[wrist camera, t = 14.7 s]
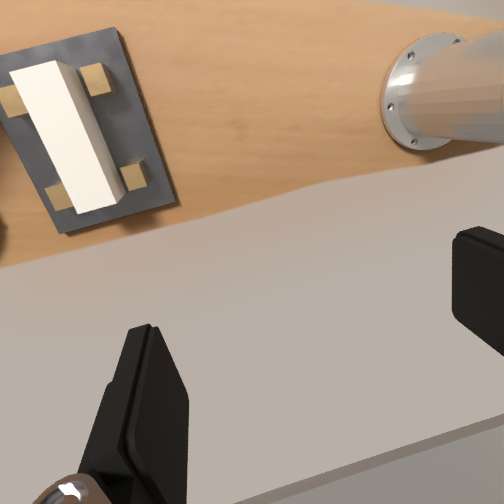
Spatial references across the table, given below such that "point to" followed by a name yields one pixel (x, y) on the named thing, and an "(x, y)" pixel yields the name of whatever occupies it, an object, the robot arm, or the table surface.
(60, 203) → the cradle jig
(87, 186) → the white rectangular block
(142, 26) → the table surface
